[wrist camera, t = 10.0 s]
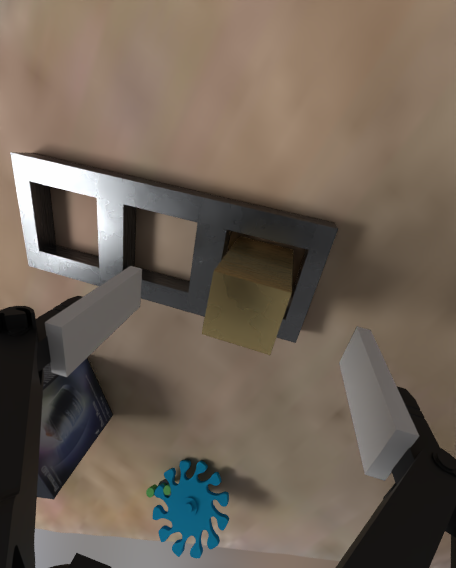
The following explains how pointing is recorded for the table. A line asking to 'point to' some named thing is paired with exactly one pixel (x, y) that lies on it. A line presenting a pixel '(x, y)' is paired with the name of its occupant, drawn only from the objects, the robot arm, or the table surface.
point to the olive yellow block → (249, 294)
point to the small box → (68, 424)
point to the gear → (189, 507)
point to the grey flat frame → (170, 201)
